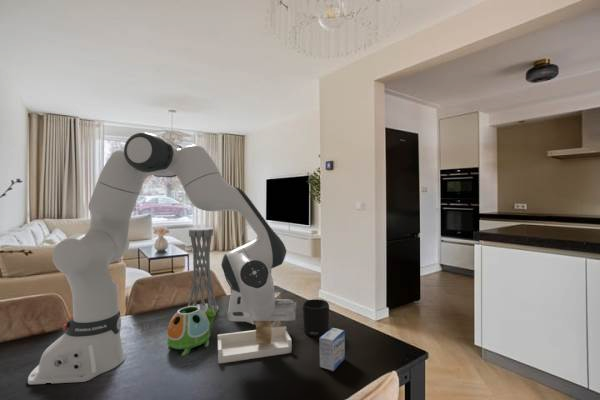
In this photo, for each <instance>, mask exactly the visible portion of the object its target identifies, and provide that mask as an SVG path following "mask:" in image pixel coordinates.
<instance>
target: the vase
mask: <svg viewBox="0 0 600 400" xmlns="http://www.w3.org/2000/svg"><path fill="white" fill-rule="evenodd" d="M188 236H189V238H190V242H191V246H192V256H193V257H192V259H193V261H192V263H193V264H192V268H193V271H192V279H191V285H190V293H189V300H188V304H187V307H188V306H197V307H199V308H200V309H201V310H202V311H203V312H204V313H205V312H206V310H207V309H208V308H210V307H213V308H214V311H215V312H216V314H217V313H218V312H219V306H218V305H217V302H216V297H215V294H214V293H215V292H214V288H213V282H212V281H213V280H212V275H211V271H210V269H211V266H210V261H211V260H210V259H211V257H210V255H211V254H210V251H211V243H212V236H214V228H213V227H207V226H206V227H192V228H188ZM201 240H202V245H201ZM202 280H203V282H202ZM202 283H203V284H202ZM205 290H206V294H207V302H205ZM199 291H200V297H201V299H200V303H199V304H198V302H197V301H198V300H197V299H198V296H199V295H198V294H199ZM192 300H193V301H192Z"/></svg>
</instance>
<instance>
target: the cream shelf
mask: <svg viewBox="0 0 600 400" xmlns="http://www.w3.org/2000/svg"><path fill="white" fill-rule="evenodd" d="M271 330H272V338H271V344H256V329H253V330H245V331H243V330H242V331H236V332H229V333H228V332H227V333H219V334H217V360H218V361H217V364H225V363H231V362H239V361H245V360H250V359H251V360H252V359H258V358H265V357H272V356H279V355H286V354H290V353H291V354H292V352H293V351H292V349H293V347H292V346H293V344H292V338H291V336H290V334H289V332H288V331H287V326H286V325H284V326H281V327H275V328H271Z"/></svg>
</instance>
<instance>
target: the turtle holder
mask: <svg viewBox="0 0 600 400" xmlns="http://www.w3.org/2000/svg"><path fill="white" fill-rule="evenodd" d="M182 312H183V313H182ZM216 316H217V313H216V312H215V311H214V308H213V307H210V308H208V309H207V310H206V312H205V313H204V312H203V311H202V310H201V309H200V308H199V307H197V306H192V305H191V306H188V305H187V306H185V307H182V308H179V309H178V310H177V312H175V314H173V316H172V318H170V321H169V324H168V326H167V331H166V337H167V341H166V342H167V347H168V348H171V349H173V350H174V349H175V350H183V351H182V353H181V354H180V355H181V357H185V356H187V355H189V354H190V353H191V349H192V348H195V347H199V346H201V345H202V344H203V347H204V348H207V347H208V346H209V344H210V340H209V339H210V337H211V331H210V330H211V329H212V327H213V324H214V318H215V317H216Z"/></svg>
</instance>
